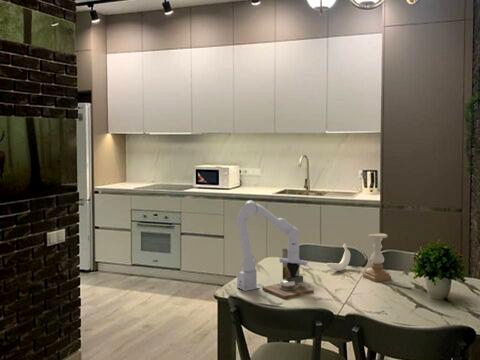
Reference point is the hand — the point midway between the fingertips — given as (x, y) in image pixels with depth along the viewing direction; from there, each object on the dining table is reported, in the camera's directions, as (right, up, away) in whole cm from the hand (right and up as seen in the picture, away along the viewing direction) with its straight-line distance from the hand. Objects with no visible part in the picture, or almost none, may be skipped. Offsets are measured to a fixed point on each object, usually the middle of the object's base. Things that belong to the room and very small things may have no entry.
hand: (293, 277), depth 263 cm
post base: (-3, -6, -5) cm, 8 cm away
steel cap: (-1, -3, -4) cm, 5 cm away
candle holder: (+47, -4, +17) cm, 50 cm away
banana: (+30, -2, +34) cm, 46 cm away
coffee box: (0, -4, +17) cm, 17 cm away
